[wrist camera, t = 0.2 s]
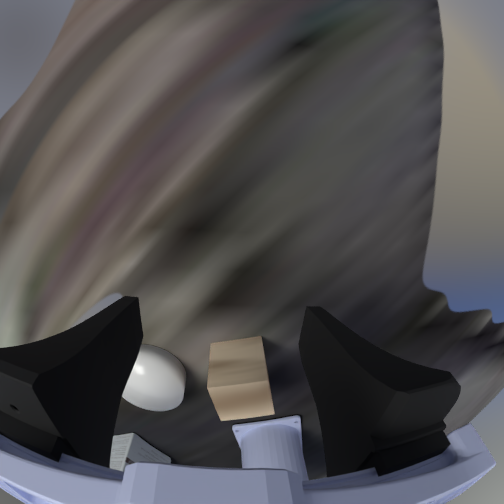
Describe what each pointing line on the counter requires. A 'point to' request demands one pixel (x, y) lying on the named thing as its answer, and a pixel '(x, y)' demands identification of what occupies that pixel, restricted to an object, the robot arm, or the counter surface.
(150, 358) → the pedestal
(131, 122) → the counter surface
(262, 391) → the beech block
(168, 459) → the skincare box
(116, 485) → the robot arm
